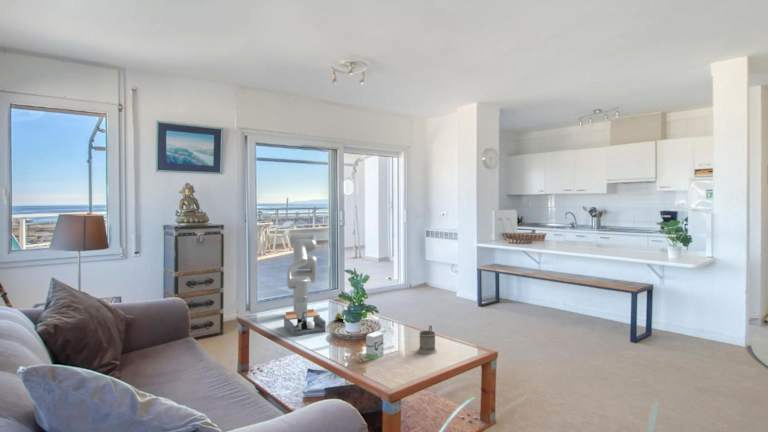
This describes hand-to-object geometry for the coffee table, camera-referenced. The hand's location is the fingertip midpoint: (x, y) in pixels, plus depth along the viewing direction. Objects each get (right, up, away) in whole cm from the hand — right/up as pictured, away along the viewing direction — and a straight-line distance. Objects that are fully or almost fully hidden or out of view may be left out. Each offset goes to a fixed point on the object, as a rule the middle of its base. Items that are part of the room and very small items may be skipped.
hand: (302, 327), depth 255 cm
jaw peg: (0, -4, 0) cm, 4 cm away
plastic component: (+27, -3, +32) cm, 42 cm away
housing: (0, -3, +7) cm, 8 cm away
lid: (-3, +4, +13) cm, 14 cm away
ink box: (+45, -5, -40) cm, 61 cm away
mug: (+73, -4, -30) cm, 79 cm away
